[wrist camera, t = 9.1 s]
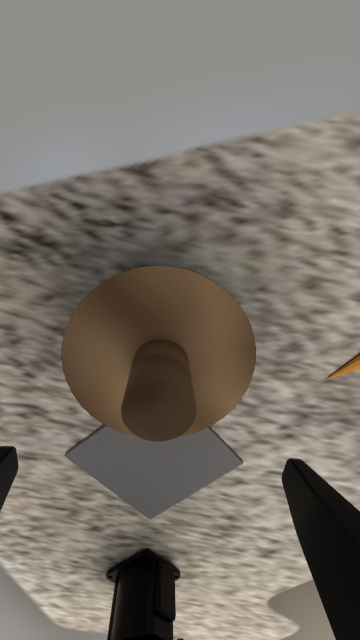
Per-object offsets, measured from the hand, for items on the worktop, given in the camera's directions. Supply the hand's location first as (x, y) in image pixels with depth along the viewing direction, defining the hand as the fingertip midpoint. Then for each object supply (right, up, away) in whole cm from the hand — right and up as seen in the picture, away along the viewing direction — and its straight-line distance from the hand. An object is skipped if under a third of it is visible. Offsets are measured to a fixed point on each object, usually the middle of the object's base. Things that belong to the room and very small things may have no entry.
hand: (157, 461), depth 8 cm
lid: (0, +2, +7) cm, 7 cm away
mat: (-1, -8, +16) cm, 18 cm away
